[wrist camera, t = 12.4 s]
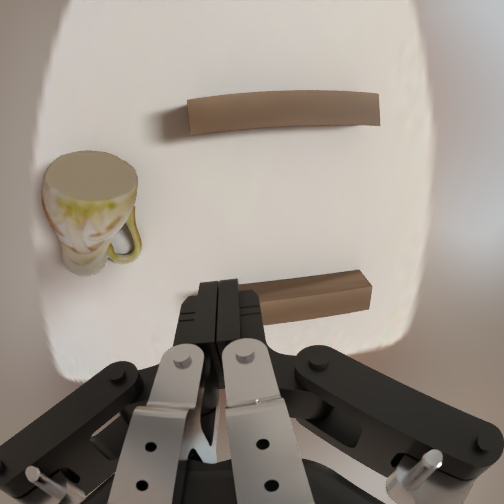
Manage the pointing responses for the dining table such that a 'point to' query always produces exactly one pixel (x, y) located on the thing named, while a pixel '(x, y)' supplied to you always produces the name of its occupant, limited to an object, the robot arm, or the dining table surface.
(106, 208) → the mug
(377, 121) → the wooden guide rails
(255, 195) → the dining table surface
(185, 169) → the dining table surface
